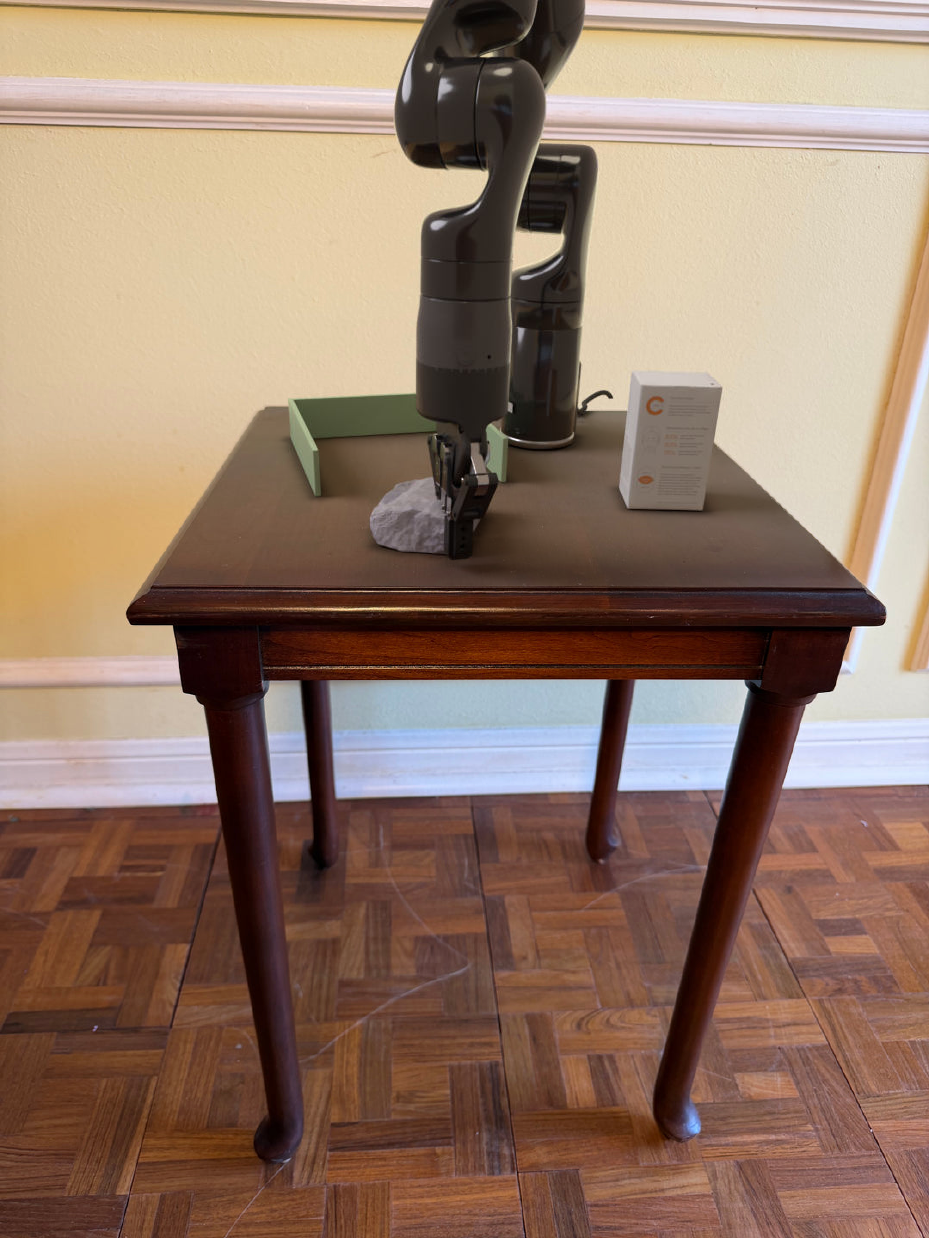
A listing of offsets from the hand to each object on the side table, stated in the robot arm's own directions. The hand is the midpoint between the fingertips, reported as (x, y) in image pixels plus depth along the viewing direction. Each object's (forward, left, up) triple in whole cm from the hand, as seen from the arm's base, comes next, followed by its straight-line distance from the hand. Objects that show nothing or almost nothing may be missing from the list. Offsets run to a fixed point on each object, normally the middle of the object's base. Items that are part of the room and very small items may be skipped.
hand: (457, 555), depth 78 cm
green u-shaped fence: (-18, -24, -1) cm, 30 cm away
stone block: (-5, -8, -1) cm, 9 cm away
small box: (-28, +6, -1) cm, 28 cm away
